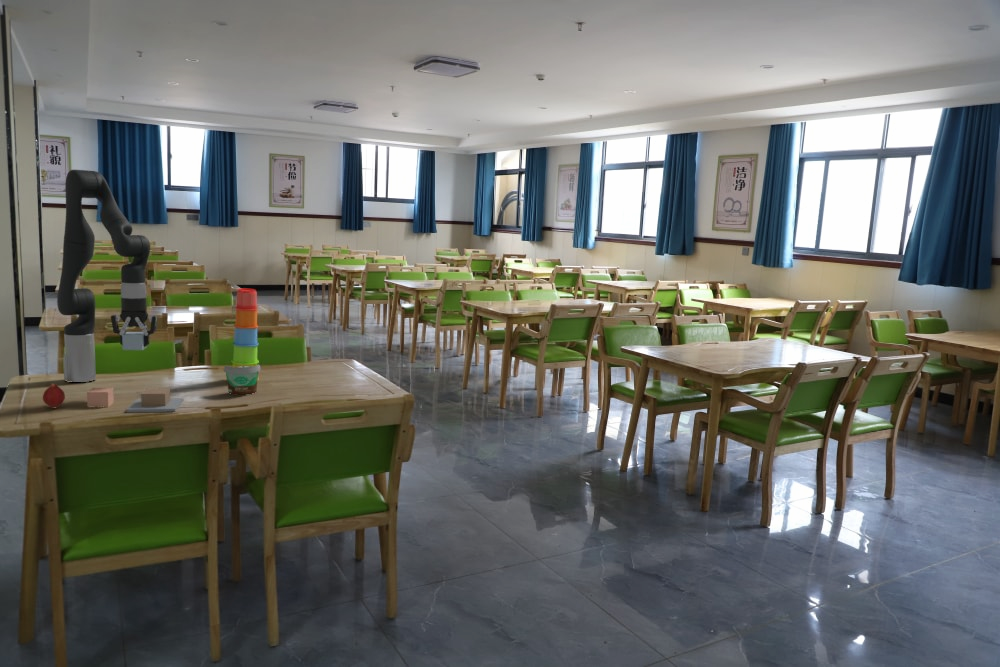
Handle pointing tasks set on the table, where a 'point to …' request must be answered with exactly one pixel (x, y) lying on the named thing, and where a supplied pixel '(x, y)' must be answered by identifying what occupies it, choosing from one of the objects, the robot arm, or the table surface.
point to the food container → (242, 379)
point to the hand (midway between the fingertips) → (135, 346)
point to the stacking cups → (246, 329)
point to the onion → (53, 396)
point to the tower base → (155, 408)
